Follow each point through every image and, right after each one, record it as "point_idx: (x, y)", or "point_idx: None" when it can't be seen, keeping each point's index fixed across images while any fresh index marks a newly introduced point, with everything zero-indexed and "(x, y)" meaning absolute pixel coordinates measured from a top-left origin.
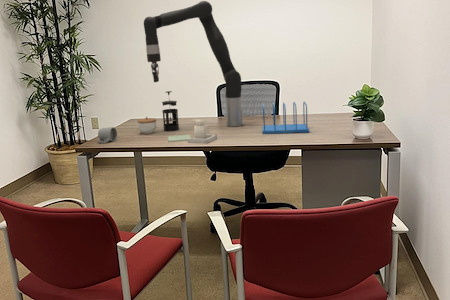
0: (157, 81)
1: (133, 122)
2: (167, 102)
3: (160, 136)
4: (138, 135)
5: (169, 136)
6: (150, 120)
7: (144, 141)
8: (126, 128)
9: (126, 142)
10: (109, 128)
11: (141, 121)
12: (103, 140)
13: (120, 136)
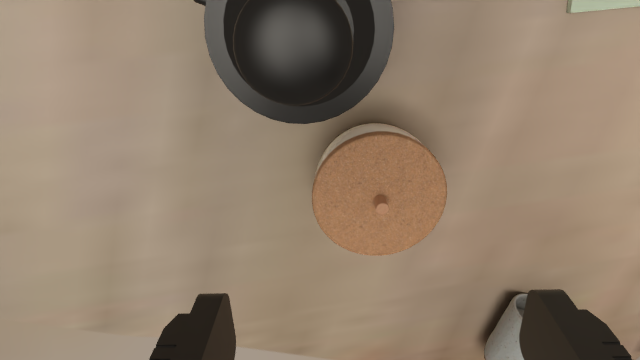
0: (562, 293)
1: (4, 293)
2: (366, 49)
3: (515, 70)
4: None
5: (584, 2)
6: (427, 169)
7: (619, 148)
8: None
9: (595, 236)
10: None
11: (435, 225)
12: None
13: (423, 289)
